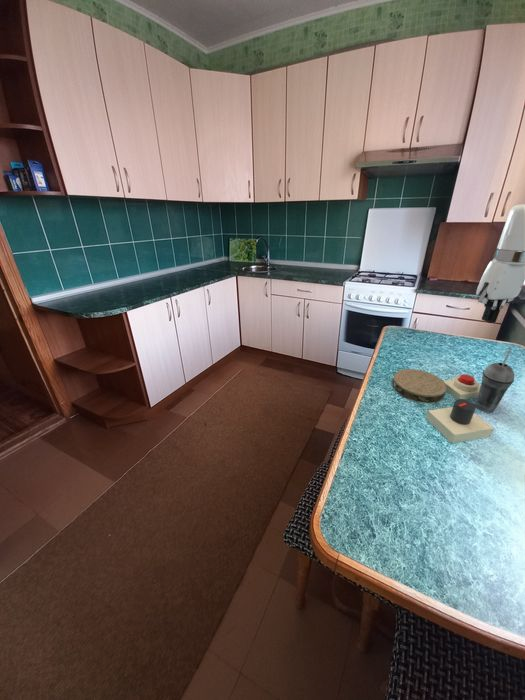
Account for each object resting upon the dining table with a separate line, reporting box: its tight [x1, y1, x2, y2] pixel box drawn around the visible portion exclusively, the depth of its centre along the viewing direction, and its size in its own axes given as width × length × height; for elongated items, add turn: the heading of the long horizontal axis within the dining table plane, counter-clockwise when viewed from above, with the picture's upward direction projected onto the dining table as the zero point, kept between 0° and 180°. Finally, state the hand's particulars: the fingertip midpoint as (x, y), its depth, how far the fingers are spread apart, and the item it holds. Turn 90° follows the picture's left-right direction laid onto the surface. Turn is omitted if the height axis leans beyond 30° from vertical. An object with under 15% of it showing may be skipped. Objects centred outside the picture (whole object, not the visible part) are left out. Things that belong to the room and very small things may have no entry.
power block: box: [443, 375, 481, 400], centre depth 96 cm, size 10×8×4 cm
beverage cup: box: [475, 348, 515, 414], centre depth 84 cm, size 7×7×20 cm
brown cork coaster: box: [391, 368, 447, 404], centre depth 97 cm, size 16×16×3 cm
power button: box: [459, 373, 476, 385], centre depth 94 cm, size 4×4×2 cm
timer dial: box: [450, 398, 477, 425], centre depth 79 cm, size 5×5×5 cm
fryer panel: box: [425, 406, 495, 444], centre depth 81 cm, size 12×10×3 cm
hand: (488, 321), depth 85 cm, fingers closed
